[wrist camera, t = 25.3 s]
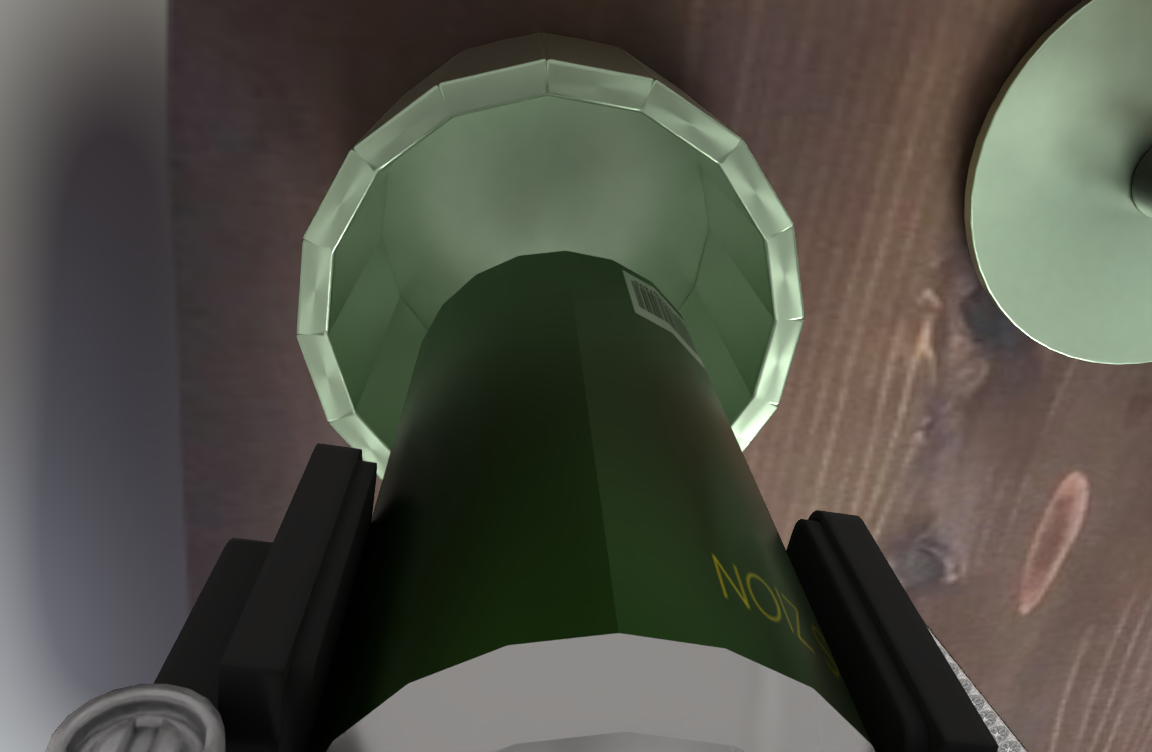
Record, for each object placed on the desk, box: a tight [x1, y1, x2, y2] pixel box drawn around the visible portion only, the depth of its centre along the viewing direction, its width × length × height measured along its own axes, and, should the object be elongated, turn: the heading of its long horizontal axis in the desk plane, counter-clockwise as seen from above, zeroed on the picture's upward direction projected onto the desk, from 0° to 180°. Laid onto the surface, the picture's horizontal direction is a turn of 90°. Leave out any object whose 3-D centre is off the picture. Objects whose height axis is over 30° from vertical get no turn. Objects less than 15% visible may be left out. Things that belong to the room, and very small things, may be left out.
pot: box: [296, 32, 805, 480], centre depth 24 cm, size 11×11×8 cm
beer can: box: [307, 251, 875, 752], centre depth 13 cm, size 5×5×12 cm
